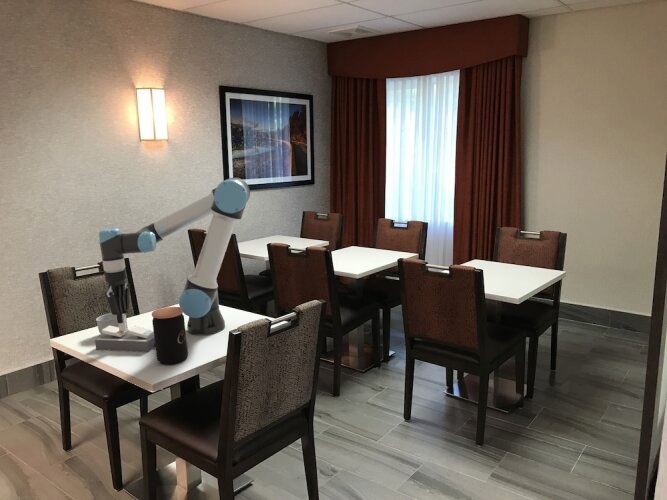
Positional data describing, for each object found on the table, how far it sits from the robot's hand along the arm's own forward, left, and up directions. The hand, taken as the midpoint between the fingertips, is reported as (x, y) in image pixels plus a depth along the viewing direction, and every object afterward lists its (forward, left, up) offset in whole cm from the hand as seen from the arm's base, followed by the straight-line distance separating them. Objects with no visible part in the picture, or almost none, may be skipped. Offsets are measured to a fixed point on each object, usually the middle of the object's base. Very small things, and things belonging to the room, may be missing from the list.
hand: (123, 330), depth 208 cm
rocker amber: (+4, 0, -1) cm, 4 cm away
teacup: (+13, -13, -7) cm, 20 cm away
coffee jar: (-26, +11, -7) cm, 29 cm away
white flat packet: (-7, 0, -1) cm, 7 cm away
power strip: (-4, 0, -6) cm, 7 cm away
